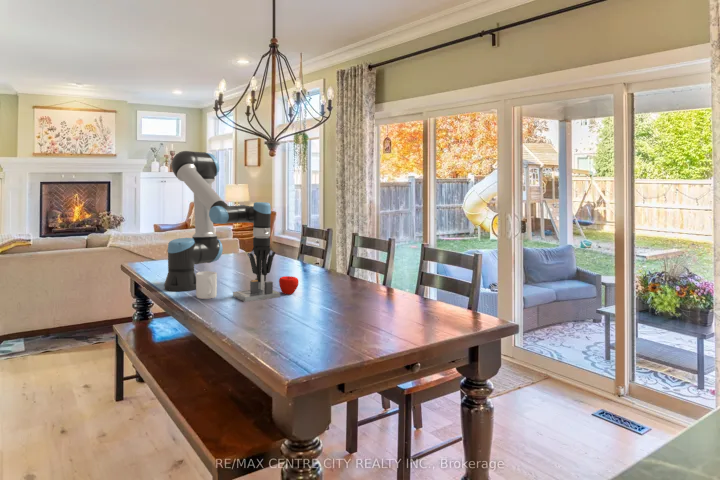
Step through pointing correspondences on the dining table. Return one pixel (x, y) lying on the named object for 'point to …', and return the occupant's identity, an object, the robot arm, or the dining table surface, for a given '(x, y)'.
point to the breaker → (268, 287)
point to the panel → (255, 295)
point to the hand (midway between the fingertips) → (261, 288)
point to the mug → (206, 285)
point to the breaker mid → (254, 286)
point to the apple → (288, 284)
